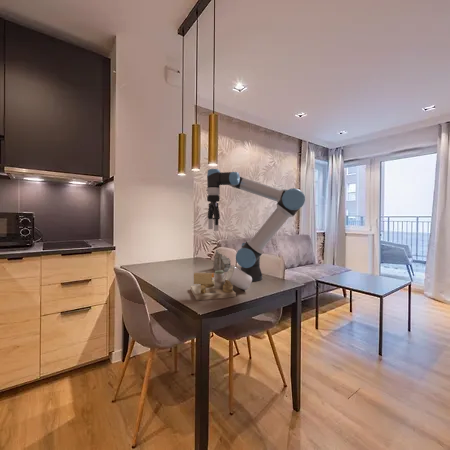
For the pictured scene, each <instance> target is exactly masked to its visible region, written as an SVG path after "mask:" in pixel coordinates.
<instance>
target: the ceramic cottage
mask: <svg viewBox="0 0 450 450" xmlns="http://www.w3.org/2000/svg"><path fill="white" fill-rule="evenodd" d="M214 254H215V255H214V257H213V260H214V261H213V268H212V270H213V271H214V272H215V271H222V270H223V271H224V273H227V272H228V270H229V269H230V267H231V266H232V265H231V258H230V257H227V255H223V254H222V253H219V250H218V249H216V250H215V253H214Z"/></svg>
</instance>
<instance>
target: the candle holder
mask: <svg viewBox="0 0 450 450" xmlns="http://www.w3.org/2000/svg"><path fill="white" fill-rule="evenodd" d="M230 266H231V267H230V269H229V270H228V272H226V274H225V276H224V281H225V280H228V281H230V282H231V284H232V285H233V286H234V287H236V288H238V289H241V290H243V291H246V290H248V289H249V288H250V287H251V285H252V282H253V281H252V277H251V276H250V275H248V274H246V273H245V272H243V271H242V270H241V268H238V267H237V266H235V265H230Z"/></svg>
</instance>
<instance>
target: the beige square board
mask: <svg viewBox="0 0 450 450" xmlns="http://www.w3.org/2000/svg"><path fill="white" fill-rule="evenodd" d="M213 273H214V279H212V284H206V293H201V284H195V285H190V291H191V293H192V295H193V296H194V298H195V300H196V301H204V300H215V299H217V300H218V299H227V298H236V297H237V296H236V295H237V292H235V290H234V287H233V286H234V285H232V284H231V282H230V281H228V280H225V276H224V275H225V272H224V271H223V270H222V271H215V270H214V272H213Z"/></svg>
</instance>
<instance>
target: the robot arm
mask: <svg viewBox="0 0 450 450" xmlns="http://www.w3.org/2000/svg"><path fill="white" fill-rule="evenodd" d="M206 173H207V175H206V176H207V177H206V179H207V183H206V185H207V186H206V191H207V192H206V194H207V195H206V197H207V198H206V200H207V202H208V210H207V211H208V212H207V218H208V220H207V222H208V227H207V228H208V230H213V231H214V232H218V231H219V226H220V225H219V223H220V222H219V219H220V218H221V217H220V216H221V215H220V209H219V202H220V201H221V200H220V194H221V192H220V190H221V186H230V187H232V188H233V189H234V188H235V189H238V190H241V191H245V192H247V193H250V194H254V195H256V196H259V197H263V198H265V199H268V200H272V201H275V202H277V203H276V207H275V208H276V209H275V210H274V211H273V212H272V213H271V215H270V216H269V217H268V219H266V221H265V222H264V223H263V225H262V226H261V227H260V228H259V229H258V231H257V232H256V233H255V235H253V237H252V238H251V239H250V240H246V242H242V243H241V248H240V249H238V251H237V252H236V253H235V261H236V263H237V264H238V266H240V270H242V271H243V272H245V273H246V274H248V275H250V276H251V277H252V282H259V281H261V280H263V273H262V270H261V269H262V268H260V267H261V264H260V263H261V256H262V255H263V254H264V252H263V251H264V248H265V247H266V246H267V244H268V243H269V242H270V241H271V240H272V238H274V236H275V235H276V234H277V232H278V231H279V230H280V229H281V228H282V226H284V224H285V223H286V222H287V220H288V219H289V218H291V217H293V218H294V216H295V215H296V214H297V212H299V210H300V209H301V208H302V207H303V206H304V205H305V202H306V197H305V196H306V195H305V194H304V192H303V191H302V190H300V189H298V188H294V187H293V188H289V189H286V188H282V189H280V188H276V187H275V186H274V187H273V186H270V185H267V184H264V183H261V182H258V181H254V180H252V179H249V178H245V177H242V176H241V175H240V172H238V171H228V172H227V171H225V172H221V171H220V169H218V168H209V169H208V170H207V172H206Z"/></svg>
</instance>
